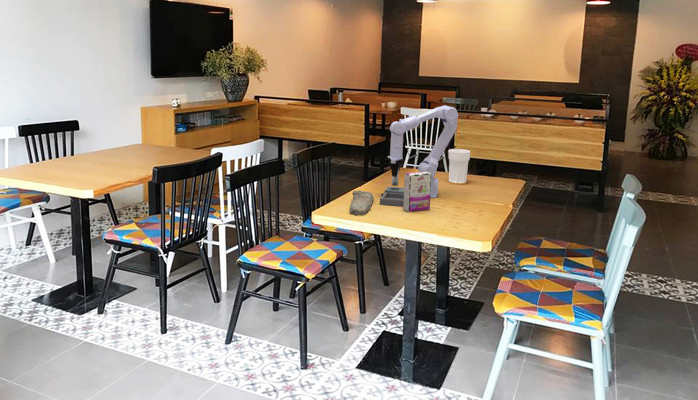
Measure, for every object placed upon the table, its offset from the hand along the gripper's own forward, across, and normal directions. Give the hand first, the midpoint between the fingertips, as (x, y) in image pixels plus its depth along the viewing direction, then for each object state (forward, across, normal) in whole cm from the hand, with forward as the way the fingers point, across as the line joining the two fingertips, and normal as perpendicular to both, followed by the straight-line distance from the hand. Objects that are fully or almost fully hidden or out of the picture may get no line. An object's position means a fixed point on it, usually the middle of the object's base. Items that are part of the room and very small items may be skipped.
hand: (395, 175), depth 283 cm
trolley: (+10, 0, +2) cm, 10 cm away
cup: (+10, -43, +26) cm, 51 cm away
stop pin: (+4, 0, 0) cm, 4 cm away
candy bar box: (+10, +22, +14) cm, 28 cm away
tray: (+10, +12, +4) cm, 16 cm away
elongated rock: (+10, +24, -10) cm, 28 cm away
